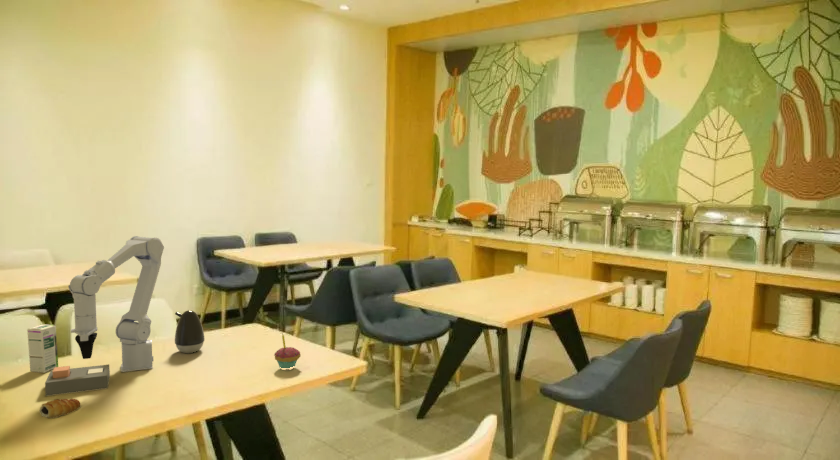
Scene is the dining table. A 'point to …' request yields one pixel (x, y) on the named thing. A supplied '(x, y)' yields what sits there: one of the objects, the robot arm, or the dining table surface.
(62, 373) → the button
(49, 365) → the syrup box
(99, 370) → the button
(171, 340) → the dining table surface
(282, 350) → the cupcake
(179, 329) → the pump dispenser
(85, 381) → the block
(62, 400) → the pastry
